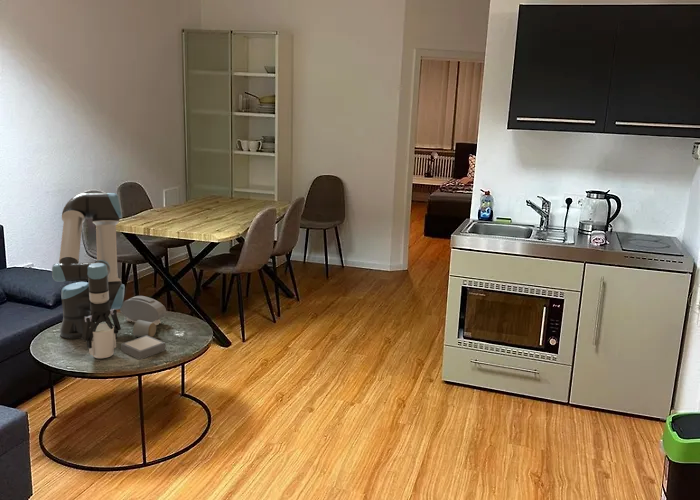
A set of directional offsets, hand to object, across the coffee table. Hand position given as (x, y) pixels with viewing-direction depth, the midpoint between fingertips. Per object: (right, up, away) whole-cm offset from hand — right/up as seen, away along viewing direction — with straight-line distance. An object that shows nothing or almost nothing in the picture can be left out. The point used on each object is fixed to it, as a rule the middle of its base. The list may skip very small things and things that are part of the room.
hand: (102, 350), depth 261 cm
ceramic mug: (+10, +3, +25) cm, 27 cm away
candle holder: (0, -2, +1) cm, 2 cm away
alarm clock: (+3, +7, +41) cm, 42 cm away
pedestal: (+14, -1, +8) cm, 17 cm away
